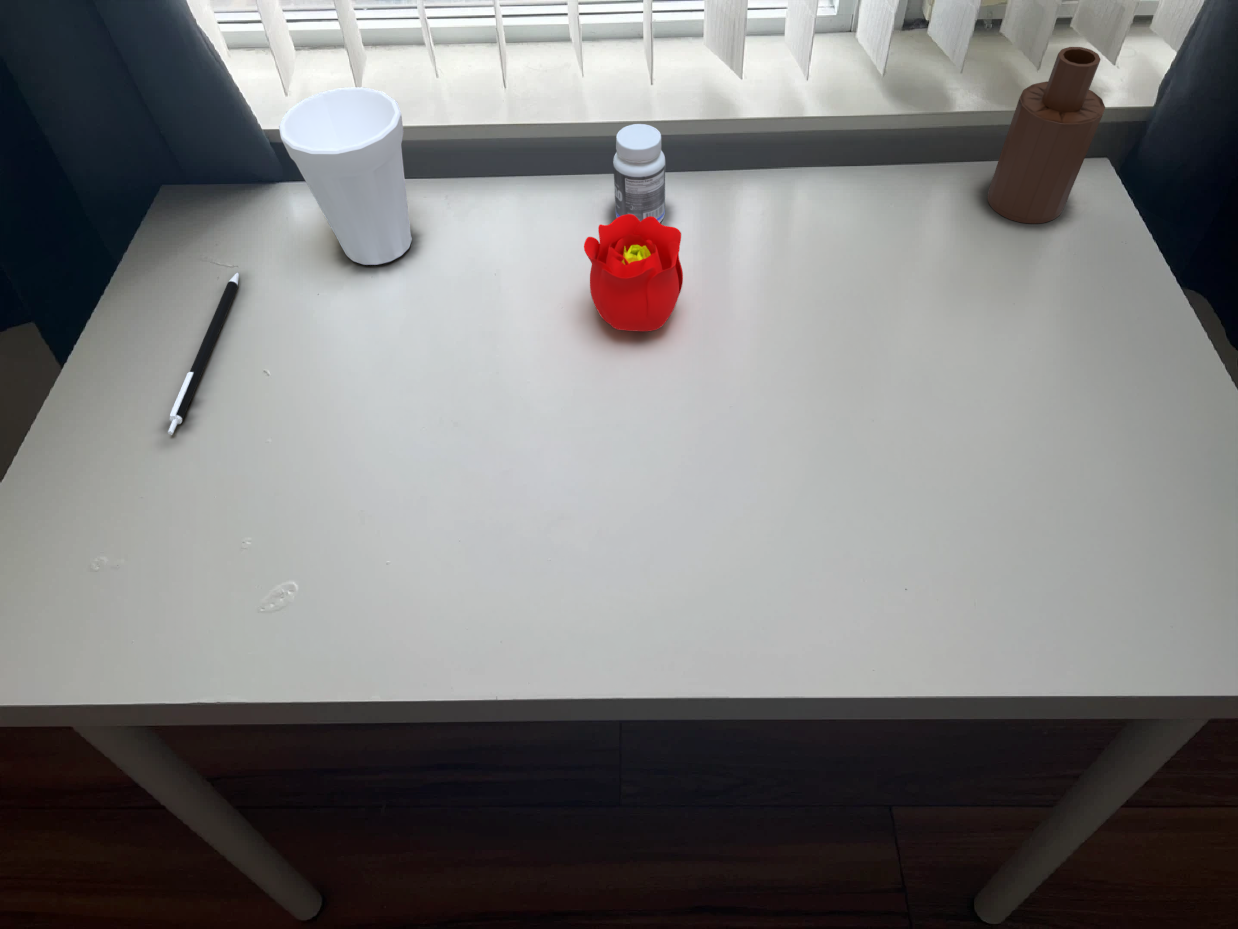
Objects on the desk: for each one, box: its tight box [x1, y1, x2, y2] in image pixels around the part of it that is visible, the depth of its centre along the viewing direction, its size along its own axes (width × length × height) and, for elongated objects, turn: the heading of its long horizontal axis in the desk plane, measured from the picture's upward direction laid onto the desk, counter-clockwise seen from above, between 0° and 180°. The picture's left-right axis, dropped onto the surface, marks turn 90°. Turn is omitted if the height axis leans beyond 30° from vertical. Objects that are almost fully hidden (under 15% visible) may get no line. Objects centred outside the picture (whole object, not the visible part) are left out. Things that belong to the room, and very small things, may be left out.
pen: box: [167, 271, 240, 436], centre depth 75 cm, size 1×19×1 cm, turn 179°
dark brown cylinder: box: [987, 46, 1106, 225], centre depth 79 cm, size 7×7×14 cm
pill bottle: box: [612, 123, 666, 224], centre depth 82 cm, size 5×5×8 cm
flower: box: [583, 214, 684, 332], centre depth 73 cm, size 8×8×8 cm
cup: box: [278, 86, 413, 266], centre depth 79 cm, size 10×10×13 cm
